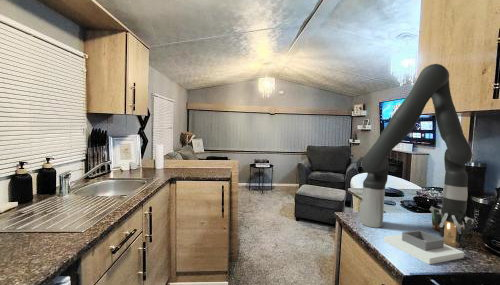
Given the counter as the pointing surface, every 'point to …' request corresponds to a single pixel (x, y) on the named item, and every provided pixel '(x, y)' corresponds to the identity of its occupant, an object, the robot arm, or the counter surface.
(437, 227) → the food container
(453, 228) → the spout can
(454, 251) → the white board with frame
